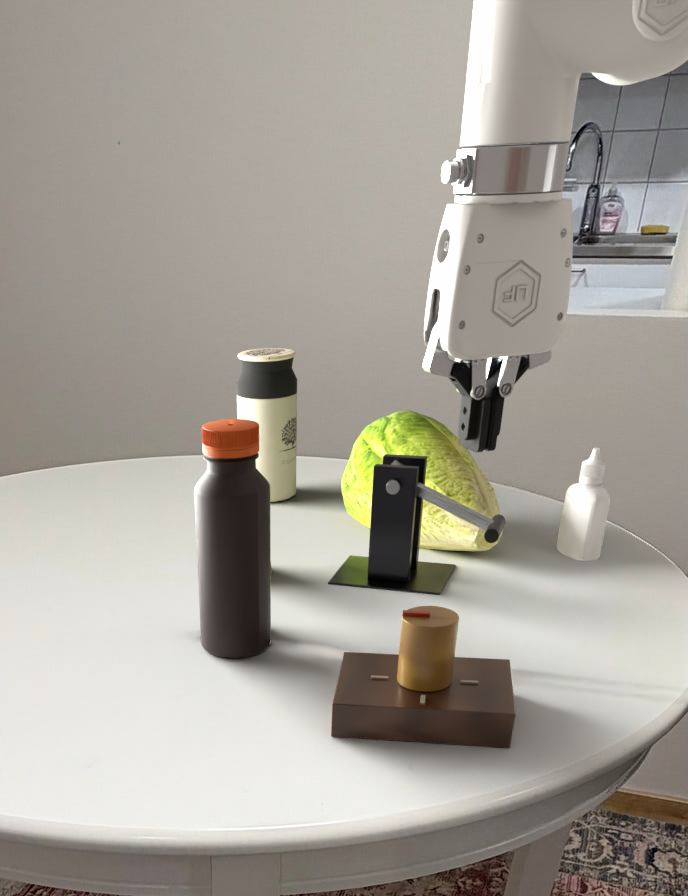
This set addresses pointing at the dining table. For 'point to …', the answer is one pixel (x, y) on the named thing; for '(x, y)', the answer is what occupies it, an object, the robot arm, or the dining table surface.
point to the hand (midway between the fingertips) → (476, 447)
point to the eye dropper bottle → (585, 512)
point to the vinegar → (233, 542)
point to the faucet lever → (462, 511)
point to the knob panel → (424, 703)
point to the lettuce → (444, 473)
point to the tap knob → (427, 648)
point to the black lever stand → (395, 535)
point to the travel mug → (271, 414)
